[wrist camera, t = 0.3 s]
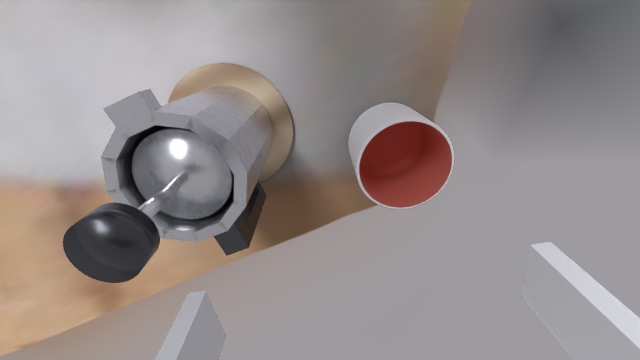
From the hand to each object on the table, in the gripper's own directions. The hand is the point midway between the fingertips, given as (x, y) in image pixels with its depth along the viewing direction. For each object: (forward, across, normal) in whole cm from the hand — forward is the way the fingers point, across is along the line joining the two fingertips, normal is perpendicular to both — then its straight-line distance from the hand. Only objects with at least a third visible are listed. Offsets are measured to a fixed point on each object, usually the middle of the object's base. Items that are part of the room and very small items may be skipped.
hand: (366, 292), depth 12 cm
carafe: (+28, -13, +1) cm, 31 cm away
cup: (+29, +7, -4) cm, 30 cm away
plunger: (+14, -13, +1) cm, 19 cm away
